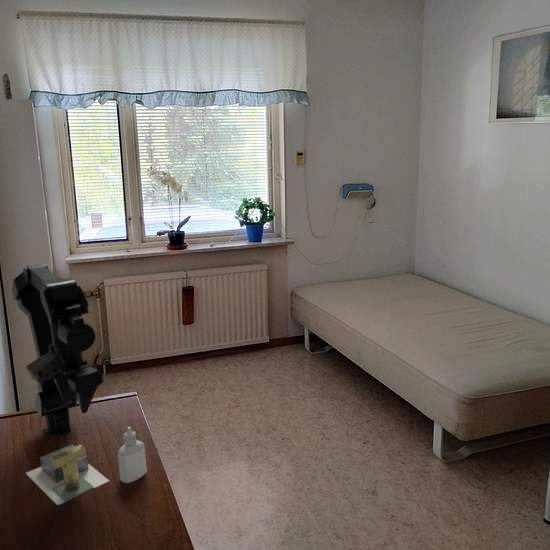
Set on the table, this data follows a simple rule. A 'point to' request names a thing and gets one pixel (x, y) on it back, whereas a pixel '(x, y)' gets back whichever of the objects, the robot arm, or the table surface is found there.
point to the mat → (69, 495)
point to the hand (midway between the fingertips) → (74, 406)
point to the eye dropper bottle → (131, 458)
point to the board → (47, 484)
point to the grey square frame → (57, 473)
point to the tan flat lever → (69, 465)
